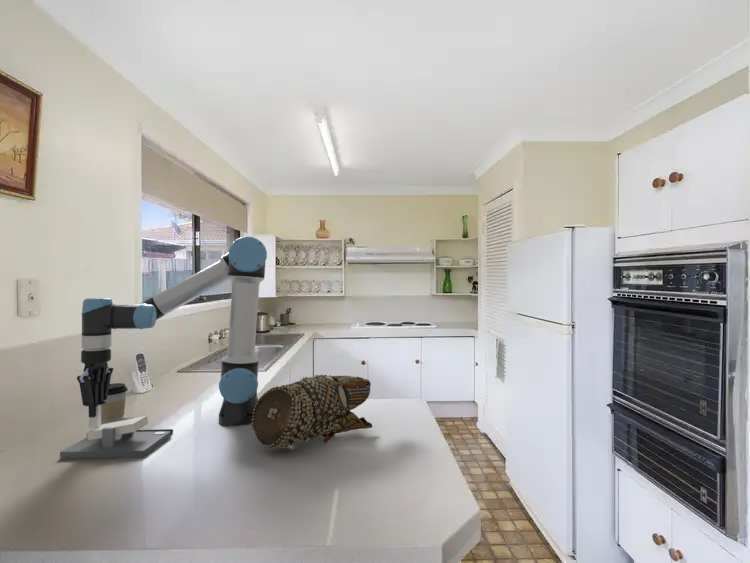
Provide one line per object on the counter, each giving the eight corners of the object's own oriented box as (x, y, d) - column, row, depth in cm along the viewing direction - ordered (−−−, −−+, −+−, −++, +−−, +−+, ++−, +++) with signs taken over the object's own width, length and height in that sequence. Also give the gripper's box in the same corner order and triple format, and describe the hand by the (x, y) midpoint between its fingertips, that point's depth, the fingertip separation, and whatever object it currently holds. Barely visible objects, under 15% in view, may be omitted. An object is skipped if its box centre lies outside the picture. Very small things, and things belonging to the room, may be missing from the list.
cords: (174, 432, 136) (174, 428, 136) (170, 435, 133) (170, 431, 133) (123, 433, 136) (123, 429, 136) (118, 436, 133) (118, 432, 133)
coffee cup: (112, 435, 133) (111, 390, 133) (88, 434, 135) (87, 389, 135) (134, 425, 143) (134, 383, 143) (111, 424, 144) (111, 382, 145)
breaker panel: (170, 437, 131) (170, 414, 131) (144, 457, 116) (144, 431, 116) (96, 438, 131) (95, 415, 131) (60, 458, 116) (59, 432, 116)
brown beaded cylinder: (329, 379, 152) (244, 381, 127) (370, 358, 140) (286, 355, 115) (342, 445, 142) (253, 461, 117) (388, 428, 130) (300, 442, 105)
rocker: (148, 423, 127) (146, 415, 127) (135, 431, 120) (133, 423, 120) (103, 431, 127) (101, 424, 127) (87, 440, 120) (85, 432, 120)
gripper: (98, 345, 130) (97, 419, 130) (67, 352, 117) (66, 434, 117) (122, 345, 130) (120, 419, 130) (94, 352, 117) (92, 434, 117)
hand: (94, 426), depth 123 cm, fingers closed
